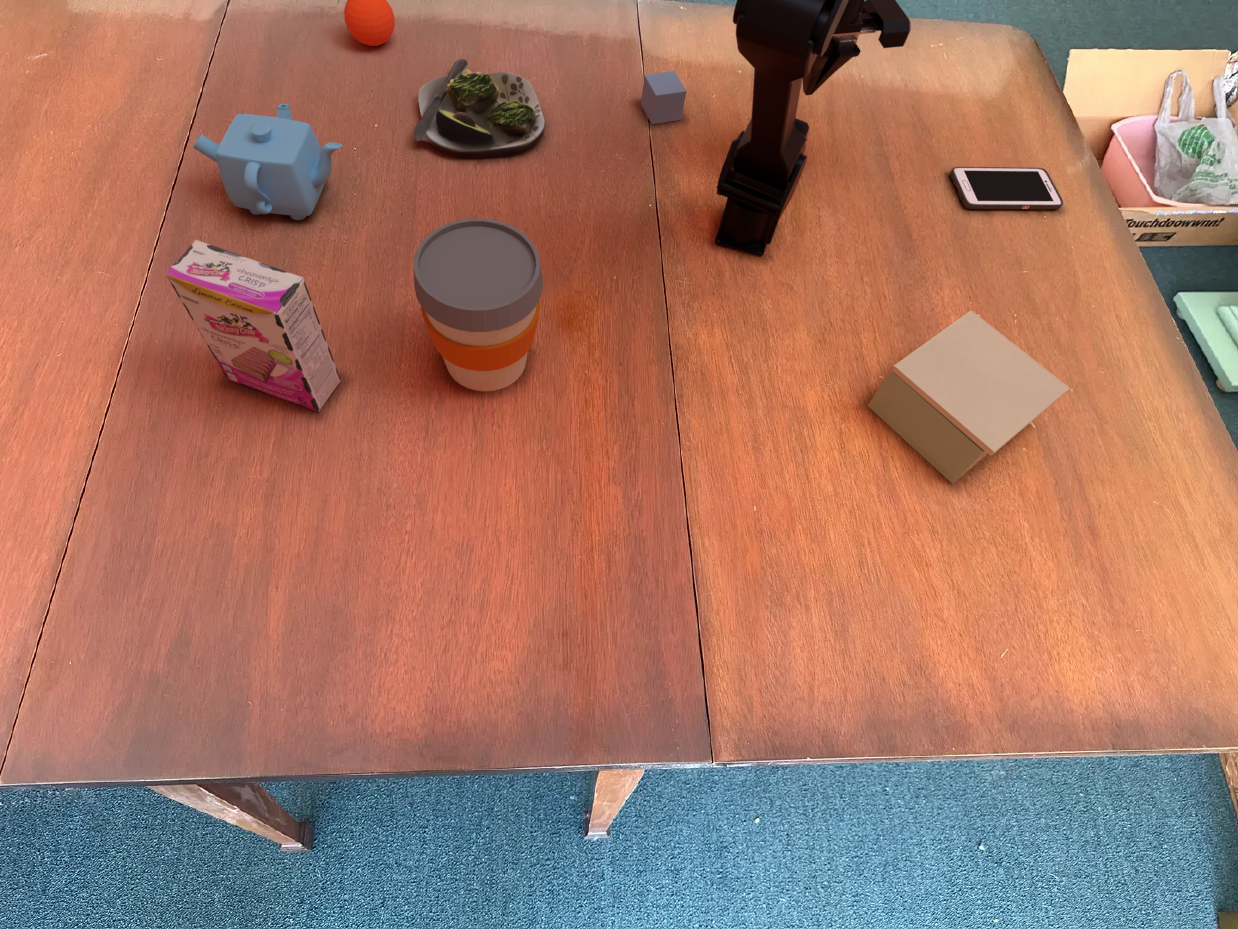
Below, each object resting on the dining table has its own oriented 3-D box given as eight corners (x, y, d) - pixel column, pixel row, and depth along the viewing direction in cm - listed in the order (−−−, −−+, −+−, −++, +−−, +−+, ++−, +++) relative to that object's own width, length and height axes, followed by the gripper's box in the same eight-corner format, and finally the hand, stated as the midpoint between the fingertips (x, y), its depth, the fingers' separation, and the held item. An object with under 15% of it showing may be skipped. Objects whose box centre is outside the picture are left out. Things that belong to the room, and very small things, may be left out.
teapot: (194, 223, 93) (159, 152, 85) (234, 146, 100) (206, 74, 92) (344, 243, 94) (325, 175, 85) (374, 166, 101) (359, 96, 92)
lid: (1065, 392, 83) (1070, 387, 83) (990, 456, 78) (994, 452, 78) (967, 314, 88) (971, 309, 88) (890, 369, 83) (893, 365, 82)
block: (651, 124, 110) (656, 95, 106) (640, 104, 112) (644, 74, 108) (681, 120, 112) (686, 90, 108) (669, 100, 114) (674, 70, 110)
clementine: (335, 49, 112) (323, -1, 106) (351, 22, 116) (341, -28, 110) (389, 59, 112) (381, 10, 106) (404, 32, 116) (397, -17, 110)
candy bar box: (224, 382, 83) (160, 273, 68) (251, 348, 85) (194, 235, 71) (320, 416, 82) (275, 312, 67) (344, 380, 84) (305, 273, 70)
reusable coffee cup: (493, 298, 92) (486, 198, 79) (565, 364, 88) (570, 269, 75) (405, 353, 87) (383, 255, 74) (478, 425, 83) (467, 334, 70)
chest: (1024, 423, 90) (1058, 388, 84) (952, 484, 85) (983, 452, 79) (940, 351, 94) (967, 314, 88) (867, 405, 89) (890, 370, 83)
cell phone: (947, 171, 111) (950, 166, 110) (1041, 172, 113) (1045, 167, 112) (964, 210, 107) (967, 204, 106) (1062, 210, 109) (1066, 205, 108)
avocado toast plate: (404, 73, 111) (399, 42, 107) (528, 67, 114) (528, 36, 110) (417, 164, 102) (412, 134, 98) (551, 155, 105) (552, 125, 101)
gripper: (894, -82, 90) (848, 47, 103) (744, -73, 86) (717, 59, 100) (938, -27, 85) (883, 101, 98) (780, -15, 81) (746, 116, 95)
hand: (807, 92), depth 98 cm, fingers closed
